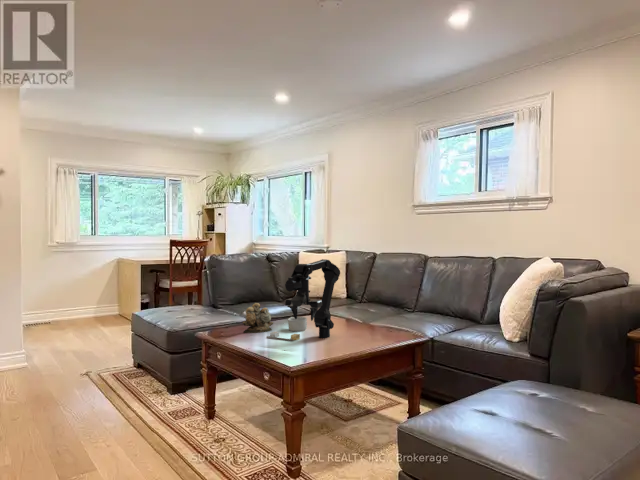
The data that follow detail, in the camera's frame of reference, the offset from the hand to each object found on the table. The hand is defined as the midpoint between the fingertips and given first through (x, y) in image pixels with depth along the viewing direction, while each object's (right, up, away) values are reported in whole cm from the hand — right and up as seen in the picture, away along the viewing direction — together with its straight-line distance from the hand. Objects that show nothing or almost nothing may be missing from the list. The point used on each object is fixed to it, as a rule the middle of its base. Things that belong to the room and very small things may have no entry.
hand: (303, 319), depth 224 cm
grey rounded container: (-5, -13, +33) cm, 35 cm away
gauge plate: (-11, -13, +12) cm, 20 cm away
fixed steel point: (-16, -12, +14) cm, 24 cm away
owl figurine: (-27, -13, +30) cm, 43 cm away
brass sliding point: (-5, -12, +8) cm, 15 cm away
